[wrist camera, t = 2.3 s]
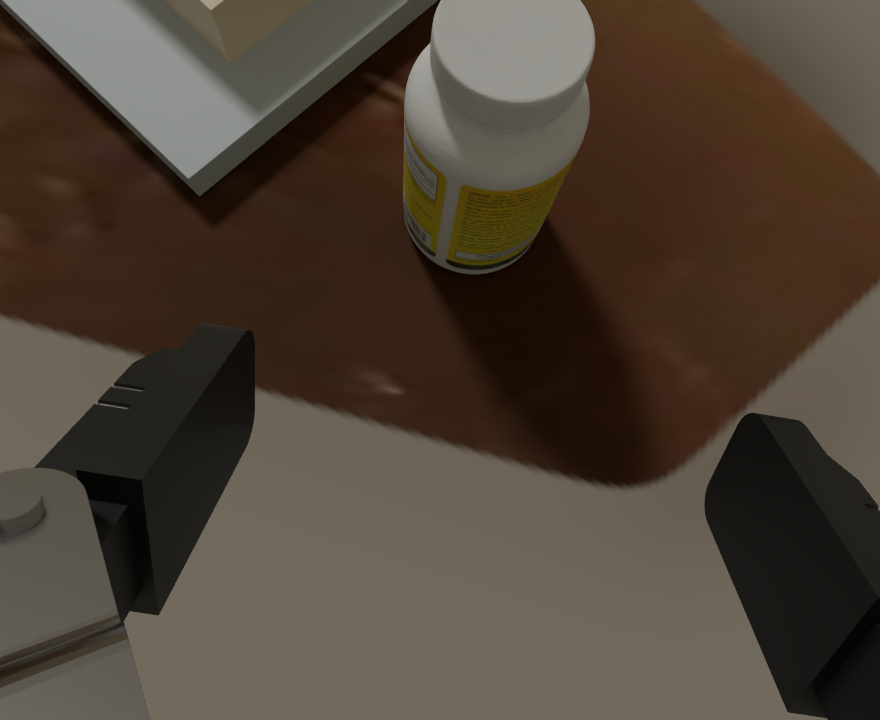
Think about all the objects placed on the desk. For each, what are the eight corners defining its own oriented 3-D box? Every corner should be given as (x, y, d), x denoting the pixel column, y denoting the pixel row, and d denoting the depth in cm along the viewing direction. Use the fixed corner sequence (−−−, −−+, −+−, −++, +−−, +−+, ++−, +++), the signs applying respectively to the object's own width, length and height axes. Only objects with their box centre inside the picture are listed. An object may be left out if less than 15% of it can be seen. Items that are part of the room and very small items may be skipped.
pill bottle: (560, 191, 29) (658, 1, 18) (501, 302, 27) (569, 167, 17) (442, 131, 29) (469, -91, 18) (377, 237, 28) (365, 63, 17)
